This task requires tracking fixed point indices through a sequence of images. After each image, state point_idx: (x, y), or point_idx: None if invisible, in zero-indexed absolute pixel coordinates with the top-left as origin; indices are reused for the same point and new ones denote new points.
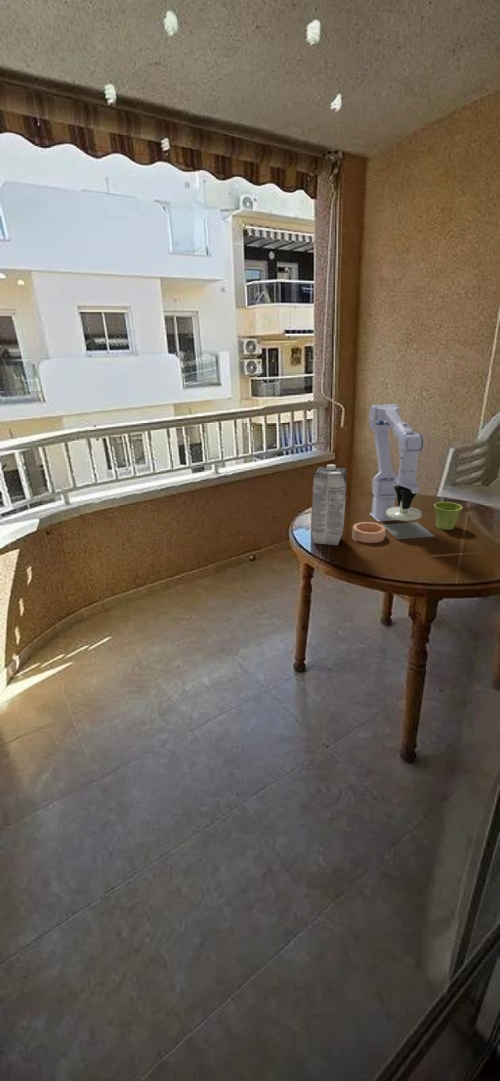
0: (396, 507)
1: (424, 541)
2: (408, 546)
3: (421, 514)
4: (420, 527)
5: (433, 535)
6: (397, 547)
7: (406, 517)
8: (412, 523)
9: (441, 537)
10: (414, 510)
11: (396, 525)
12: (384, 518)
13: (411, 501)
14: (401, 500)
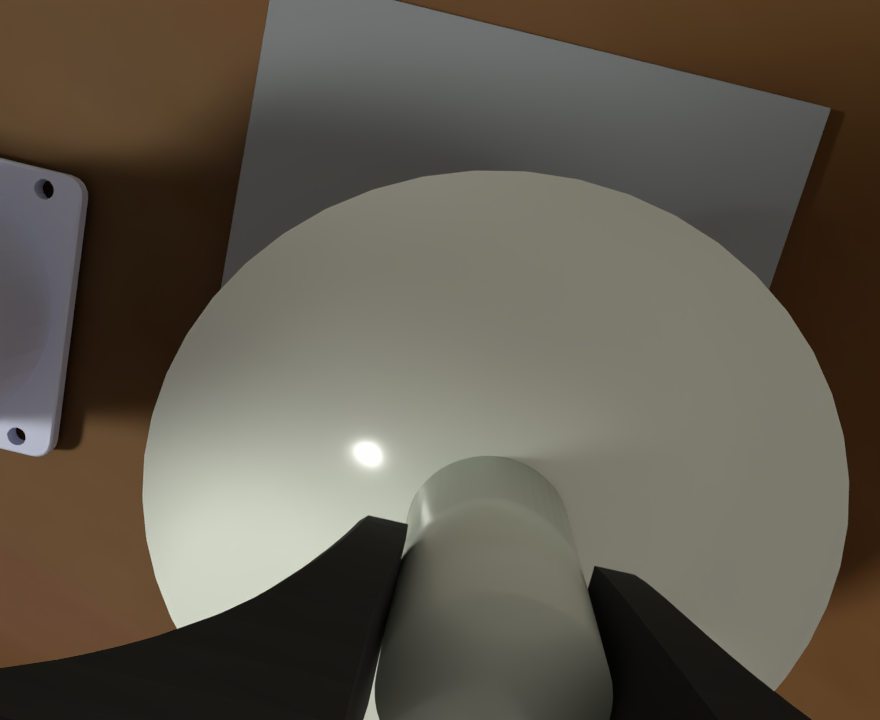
0: (188, 485)
1: (838, 323)
2: (851, 585)
3: (746, 272)
4: (473, 72)
5: (800, 113)
6: (809, 700)
7: (756, 667)
8: (293, 73)
9: (855, 13)
10: (532, 294)
11: None
12: (24, 363)
13: (762, 694)
14: (378, 712)
